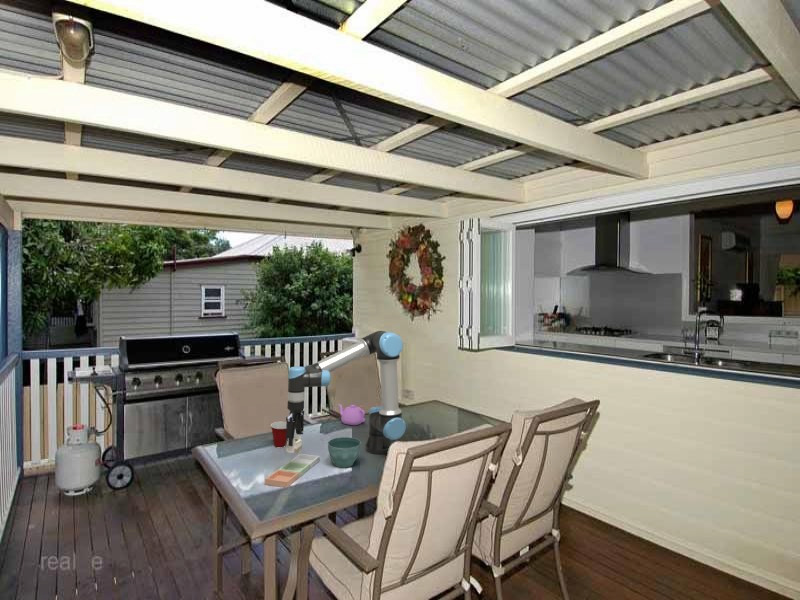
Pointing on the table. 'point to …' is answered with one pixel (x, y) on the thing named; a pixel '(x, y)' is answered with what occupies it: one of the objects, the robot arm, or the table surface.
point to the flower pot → (344, 451)
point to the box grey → (307, 459)
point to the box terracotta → (281, 478)
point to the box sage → (296, 467)
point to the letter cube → (296, 445)
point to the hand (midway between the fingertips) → (294, 450)
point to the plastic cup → (279, 433)
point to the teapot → (352, 415)
